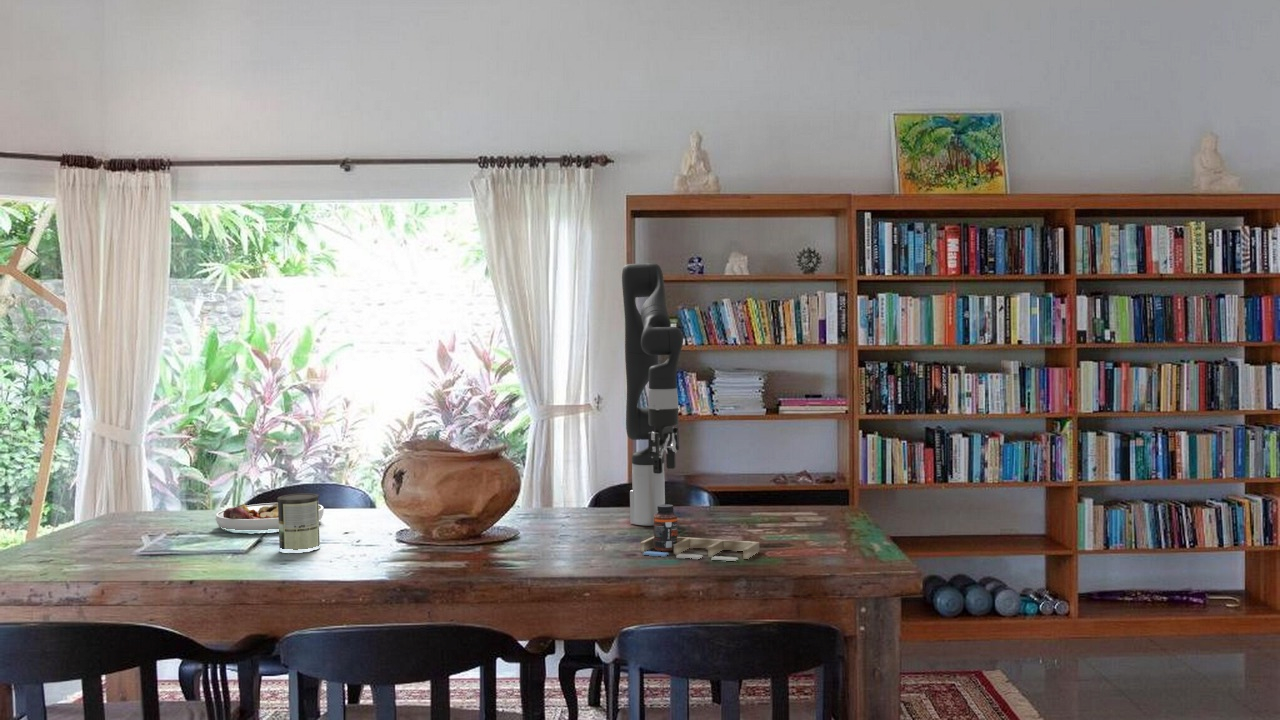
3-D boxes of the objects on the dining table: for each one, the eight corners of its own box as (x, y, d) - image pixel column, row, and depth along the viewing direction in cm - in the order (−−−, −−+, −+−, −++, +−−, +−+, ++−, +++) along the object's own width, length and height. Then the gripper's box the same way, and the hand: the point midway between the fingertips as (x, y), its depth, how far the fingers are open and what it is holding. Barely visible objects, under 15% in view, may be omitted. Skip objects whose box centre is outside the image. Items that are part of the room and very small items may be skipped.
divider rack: (640, 552, 271) (640, 542, 271) (655, 545, 280) (655, 535, 280) (747, 559, 259) (747, 549, 259) (759, 552, 268) (759, 542, 268)
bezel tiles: (642, 555, 267) (642, 552, 267) (646, 553, 269) (646, 551, 269) (734, 562, 257) (734, 559, 257) (738, 560, 260) (738, 557, 260)
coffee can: (270, 552, 281) (268, 497, 281) (301, 544, 290) (299, 492, 289) (298, 555, 276) (296, 500, 275) (328, 548, 285) (327, 494, 284)
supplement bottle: (675, 552, 270) (674, 507, 269) (652, 552, 271) (651, 507, 271) (679, 547, 276) (678, 503, 275) (656, 547, 277) (655, 503, 276)
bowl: (270, 515, 339) (269, 490, 339) (345, 521, 326) (344, 495, 326) (193, 533, 312) (192, 505, 312) (271, 540, 299) (270, 511, 299)
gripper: (660, 404, 280) (661, 466, 280) (638, 408, 267) (639, 474, 267) (687, 404, 277) (688, 467, 277) (666, 409, 264) (667, 475, 264)
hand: (664, 470), depth 272 cm, fingers open, 8 cm apart
